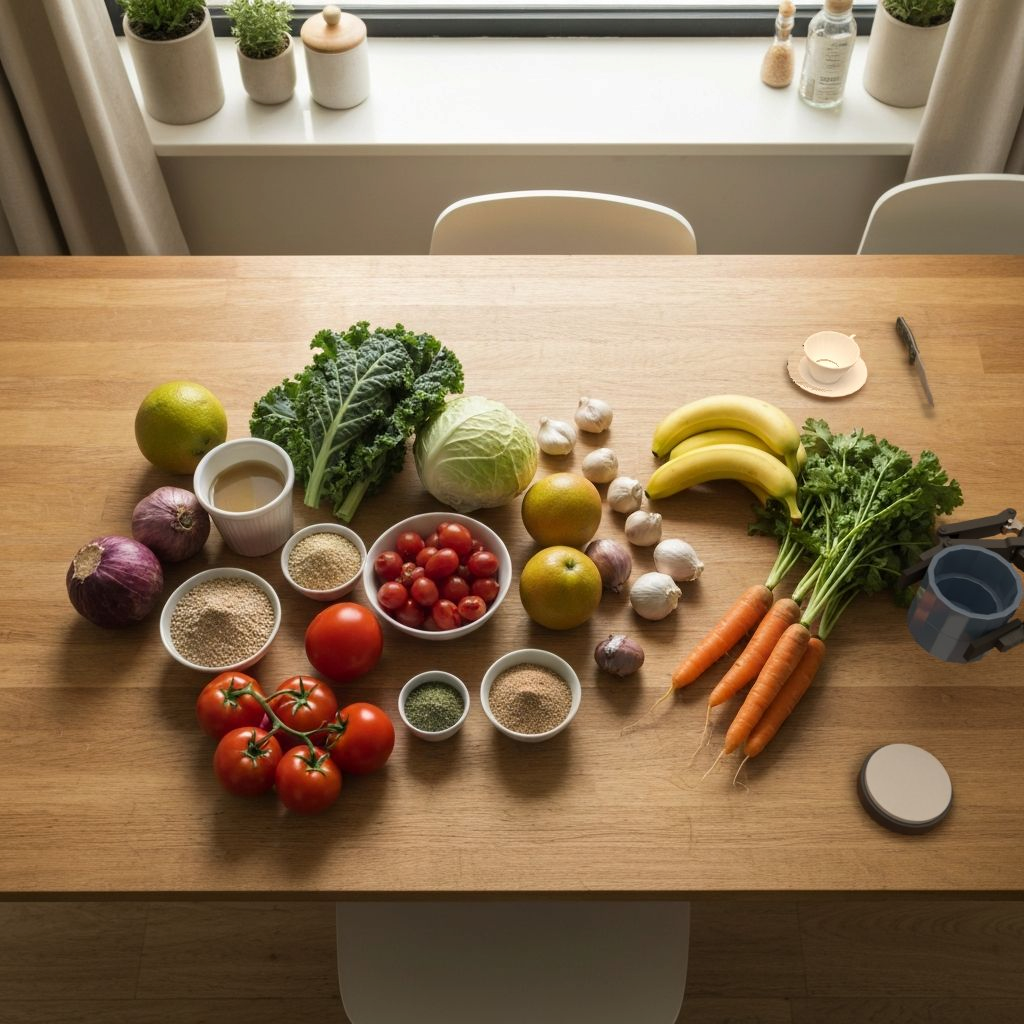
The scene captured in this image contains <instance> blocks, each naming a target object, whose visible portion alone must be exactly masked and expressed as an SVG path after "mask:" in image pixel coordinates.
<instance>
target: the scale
mask: <svg viewBox="0 0 1024 1024" xmlns="http://www.w3.org/2000/svg"><path fill="white" fill-rule="evenodd" d="M856 792H857V797H858V799H859V801H860V804H861V806H862V808H863V810H864V811H865V812H866V814H867V815H868V816H869V817H870V818H871V819H872V820H873V821H874V822H876V824H878V825H879V826H880V827H883V828H884V829H886V830H888V831H890V832H892V833H896V834H900V835H904V836H919V835H923V834H926V833H927V834H928V833H929V832H931V831H933V830H934V829H936V828H937V827H938V826H939V825H940V824H941V823H942V822H943V820H944V819H945V817H946V816H947V815H948V813H949V812H950V810H951V808H952V805H953V799H954V789H953V785H952V781H951V778H950V776H949V774H948V771H947V770H946V769H945V767H944V765H943V764H942V763H941V762H940V760H938V759H937V758H936V757H935V756H934V755H933V754H931V753H930V752H929V751H927V750H925V749H923V748H921V747H919V746H917V745H913V744H908V743H890V744H886V745H883V746H880V747H878V748H875V750H873V751H872V752H870V753H869V755H868V756H867V757H866V758H865V760H864V761H863V764H862V765H861V767H860V769H859V771H858V774H857V778H856Z"/></svg>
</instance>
